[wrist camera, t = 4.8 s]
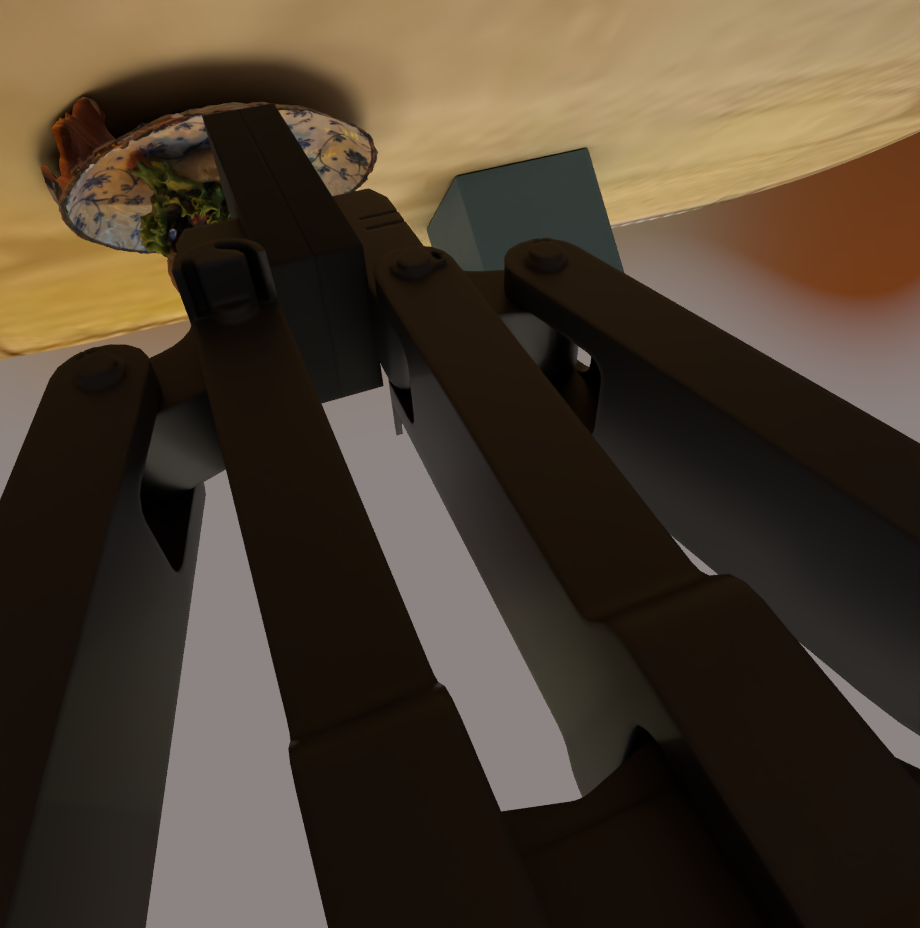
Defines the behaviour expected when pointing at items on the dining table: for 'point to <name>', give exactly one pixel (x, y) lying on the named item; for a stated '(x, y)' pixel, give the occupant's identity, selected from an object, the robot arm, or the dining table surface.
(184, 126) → the burger
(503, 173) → the slate block
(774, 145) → the dining table surface
